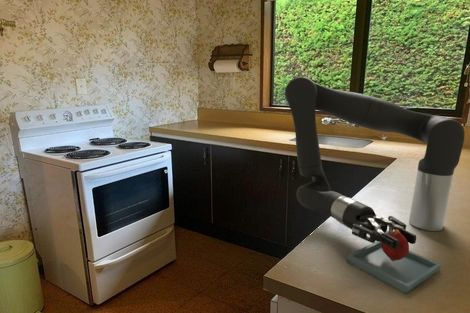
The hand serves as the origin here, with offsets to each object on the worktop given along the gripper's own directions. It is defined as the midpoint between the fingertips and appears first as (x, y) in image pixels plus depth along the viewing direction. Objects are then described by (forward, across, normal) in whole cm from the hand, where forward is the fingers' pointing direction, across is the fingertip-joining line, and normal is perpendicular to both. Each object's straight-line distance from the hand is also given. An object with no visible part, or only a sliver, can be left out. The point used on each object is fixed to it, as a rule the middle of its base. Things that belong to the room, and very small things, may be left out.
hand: (406, 242), depth 78 cm
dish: (-2, 0, +8) cm, 8 cm away
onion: (-3, 0, +6) cm, 7 cm away
